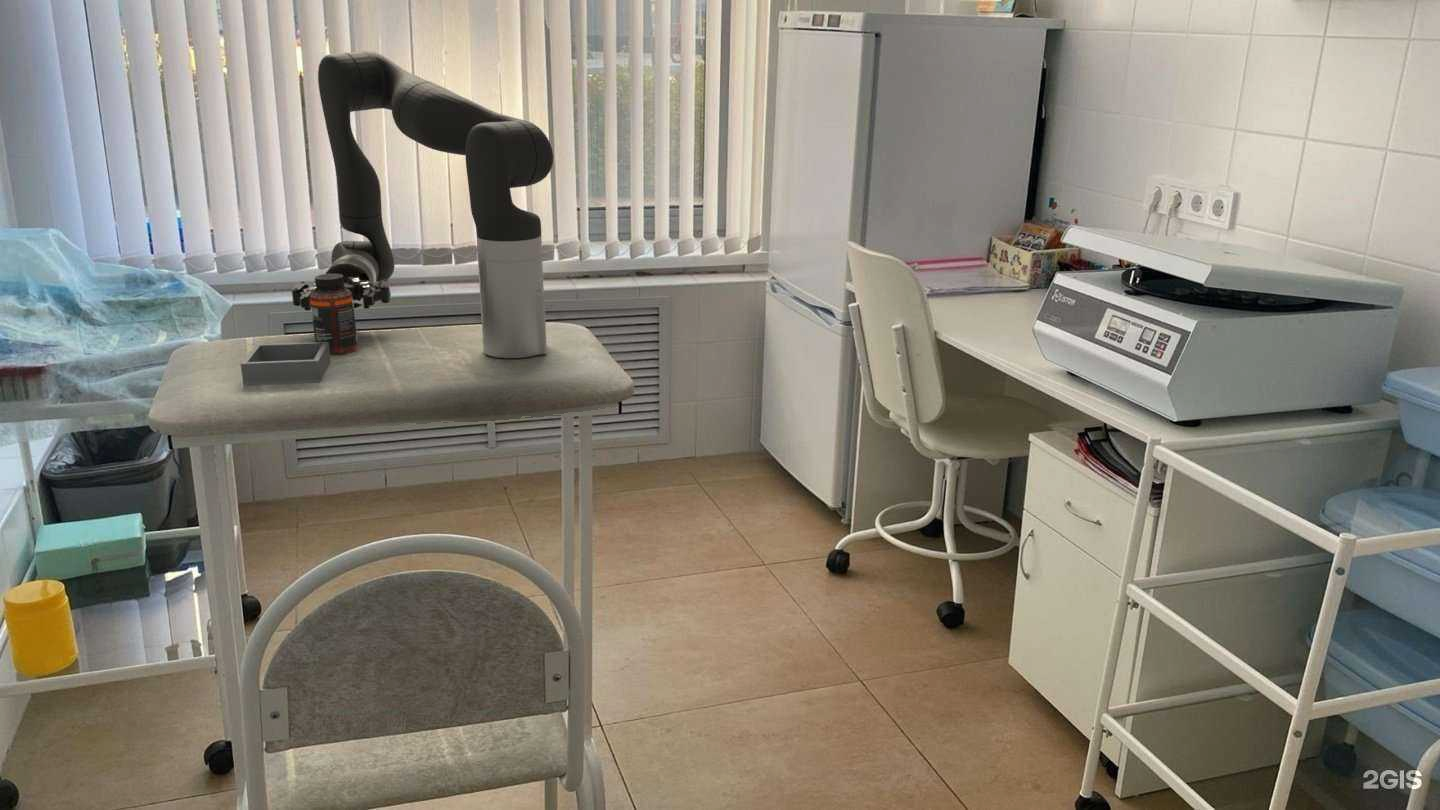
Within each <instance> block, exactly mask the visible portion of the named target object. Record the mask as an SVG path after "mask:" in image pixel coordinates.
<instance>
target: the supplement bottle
mask: <svg viewBox="0 0 1440 810" xmlns="http://www.w3.org/2000/svg"><path fill="white" fill-rule="evenodd" d="M314 284H315V285H316V289H315V290H314V291H313V292H312V293H311V295H310V302H311V310H310V311H311V317H312V326H313V327H312V328H313V334H314V336H313V337H314V342H329V348H330V356H336V355H337V356H338V355H346V354H350V353H352V352H354V351H355V350H357V348H358V336H357V327H356V325H357V324H356V317H355V308H354V306H353V297H352V293H351V291H350V290H349V289H347V288H346V287H345V286H344V277H343V275H341V274H326V273H324V274H319V275H316V276H314Z"/></svg>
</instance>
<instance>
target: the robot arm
mask: <svg viewBox="0 0 1440 810" xmlns="http://www.w3.org/2000/svg"><path fill="white" fill-rule="evenodd" d="M317 83H318V90H319V97H320V102H321V107H322V112H323V117H324V121H325V127H326V130H327V131H326V132H327V136H328V141H329V144H330V150H331V153H332V159H333V162H334V166H335V167H334V169H335V175H336V182H337V183H336V184H337V198H338V199H337V201H338V214H339V215H338V217H339V224H340V226H341V227H342V228H343V229H344V230H345V231H347V232H350V233H353V234H357V235H360V236H363V237H365V238H366V239H367V240H368V241H365V240H363V241H361V240H359V241H358V240H343V241H339V242H338V243H336V244H335V245H334V247H333V249H332V252H331V265H330V267H329V268H328V269H327V271H326V272H325V274H341V275H343V277H344V286H345V287H346V288H347V289H349V290H350V291H351V293H352V297H353V306H354V309H356V308H359V307H361V306H363V309H370V308H371V306H374V305H377V304H378V301H381V303H382V304H383V303H384V304H388V303H391V302H390V301H391V296H392V295H391V286H390V285H391V284H390V278H391V277H392V275H393V274H394V271H395V258H394V254H393V252H392V248H391V245H390V243H389V240H388V237H387V234H386V231H385V228H384V227H385V226H384V222H383V214H382V192H381V191H382V190H381V184H380V183H381V182H380V180H379V177H378V175H377V172H376V170H375V169H374V167H373V165H372V164H371V162H370V161H369V159H368V158H367V156H366V155H365V154H364V152H363V151H362V148H361V147H360V146H359V144H358V143H357V141H356V139H355V136H354V134H353V129H352V126H351V113H352V112H353V113H354V112H359V111H361V112H362V111H368V110H377V109H384V110H390V111H391V115H392V119H393V122H394V124H395V125H396V127H397V128H398V130H399V131H400V132H401V133H402V134H403V135H404V136H406V137H407V138H409V139H410V140H412V141H414V142H416V143H418V144H420V145H422V146H424V147H426V148H428V149H432V150H434V151H438V152H442V153H447V154H451V155H460V156H465V167H466V175H467V176H466V177H467V184H468V193H469V203H470V211H471V215H472V219H473V221H474V225H475V229H476V230H475V233H476V247H477V264H478V265H477V266H478V281H479V299H480V315H481V329H482V330H481V332H482V333H481V335H482V337H481V339H482V347H483V354H485V355H487V356H489V357H492V358H498V359H499V358H500V359H522V358H528V357H534V356H538V355H547V353H548V352H547V329H546V303H545V301H546V298H545V288H544V286H545V285H544V272H543V270H544V269H543V268H544V267H543V264H544V263H543V248H542V245H543V243H542V240H543V239H542V221H541V218H540V216H539V215H538V214H536V213H533V212H531V211H527V210H524V209H521V208H519V207H517V205H516V204H514V201H513V199H512V194H511V192H512V191H511V189H513V188H514V189H515V188H522V187H529V186H533V185H536V184H537V183H540V182H542V181H543V180H544V179H545V178H546V177H547V176H548V175H549V173H550V172H551V170H552V167H553V164H554V152H553V148H552V145H551V143H550V140H549V139H548V137H547V135H546V134H545V132H544V131H543V130H542V129H541V128H540V127H539V126H537V125H536V124H535V123H533V122H531V121H528V120H525V119H521V118H518V117H513V116H510V115H505V114H502V113H499V112H496V111H493V110H491V109H488V108H487V107H484V106H482V105H481V104H479V103H476V102H474V101H472V100H470V99H468V98H466V97H463V96H462V95H459V94H457V93H455V92H453V91H452V90H450V89H447V88H445V87H443V86H441V85H439V84H437V83H434V82H432V81H429V80H427V79H424V78H422V77H419V76H418V75H416V74H414V73H411V72H409V71H407V70H406V69H404V68H402V67H401V66H399V65H398V64H397V63H395V61H392V60H390V59H389V58H388V57H387V56H384V55H383V54H381V53H379V52H376V51H372V50H371V51H370V50H364V51H363V50H362V51H361V50H360V51H351V52H339V53H331V54H326V55H325V56H323V58H322V59H321V60H320V62H319V64H318V70H317ZM376 283H378V284H376ZM315 289H316V285H315V283H313V286H309V283H308V282H307V281H300V282H298V283H297V284H296V285H295V286H294V287H292V288H291V296H292V303H293V306H296V307H299V306H300V308H301V309H303V308H304V311H312V310H311V302H310V295H311V293H312V292H313V291H314V290H315Z"/></svg>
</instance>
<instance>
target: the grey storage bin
mask: <svg viewBox="0 0 1440 810" xmlns="http://www.w3.org/2000/svg"><path fill="white" fill-rule="evenodd" d="M331 363H332V359H331V355H330V348H329V342H315V341H313V342H288V343H287V342H286V343H257V344H255V345H254V346H253V347H252V348H251V350H250V351H249V352H248V354H246V356H245V358H244V359H243V360H242V361H241V363H240V369H241V378H242V379H241V380H242V385H243V386H255V385H256V386H258V385H259V386H260V385H264V386H265V385H283V384H286V385H287V384H302V383H303V384H304V383H305V384H306V383H308V384H309V383H310V384H311V383H321V382H322V380H323V378H324V376H325V374H326V372H327V371H328V369H329V367H330V364H331Z"/></svg>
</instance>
